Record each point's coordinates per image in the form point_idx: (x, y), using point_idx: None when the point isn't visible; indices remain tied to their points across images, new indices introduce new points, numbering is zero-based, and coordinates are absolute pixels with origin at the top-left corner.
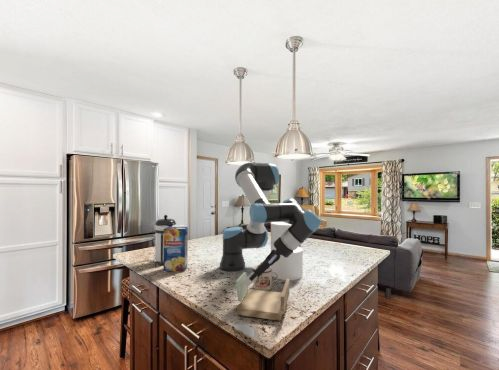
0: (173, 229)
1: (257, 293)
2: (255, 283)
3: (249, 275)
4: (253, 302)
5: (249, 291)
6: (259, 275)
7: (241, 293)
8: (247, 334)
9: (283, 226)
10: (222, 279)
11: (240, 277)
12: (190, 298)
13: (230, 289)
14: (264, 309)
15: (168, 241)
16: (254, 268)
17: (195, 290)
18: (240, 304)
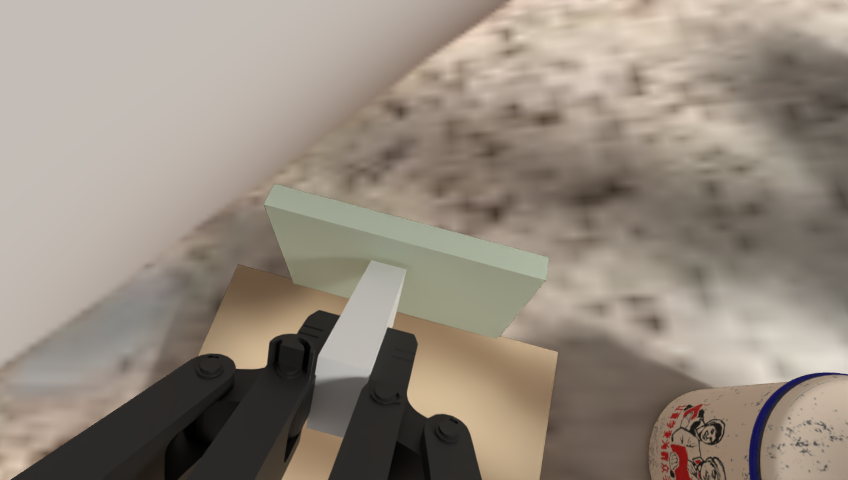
0: None
1: (476, 418)
2: (692, 405)
3: (344, 310)
4: None
5: (510, 350)
6: (173, 438)
7: (325, 275)
8: (38, 345)
9: None
10: (788, 165)
11: (377, 224)
12: (478, 34)
13: (631, 225)
14: None
15: None
16: (822, 389)
17: (582, 42)
18: (288, 286)
